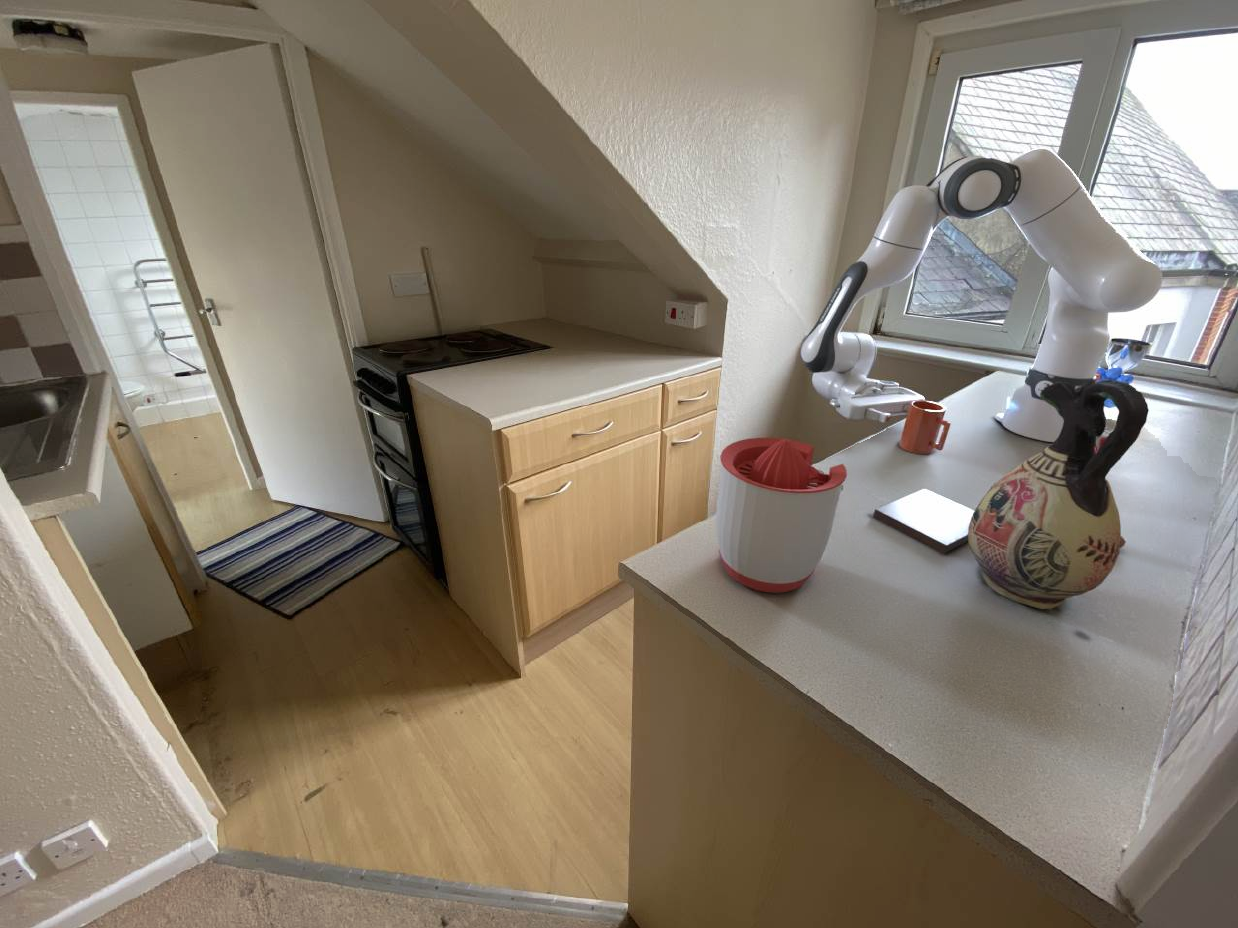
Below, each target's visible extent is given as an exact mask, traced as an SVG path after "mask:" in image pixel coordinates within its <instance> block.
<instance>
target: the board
mask: <svg viewBox="0 0 1238 928" xmlns="http://www.w3.org/2000/svg"><path fill="white" fill-rule="evenodd" d="M974 511H975V510H974V509H972V508H969V507H967V506H964V505H963V504H960V503H958V502H955V501H954V500H951V499H949V498H946V497H944V496H942V495H940V494H937V493H935V492H934V491H931V490H928V489H927V488H922V489H920V490H918V491H915V492H913V493H910V494H908V495H905V496H904V497H901V498H899V499H896V500H894V501H891V502H889V503H887V504H884V505H882V506H880V507H877V508H875V509H874V512H873V516H872V517H873V518H875V519H877V520H879V521H880V522H883V523H884V524H886V525H887V526H890V527H892V528H894V529H896V530H898V531H899V532H901V533H903V534H906V535H907V536H909V537H911V538H913V539H915V540H917V541H918V542H921V543H923V544H924V545H926V546H928V547H930V548H932V549H934V550H936V551H938V552H940V553H942V554H947V553H948V552H950V551H952V550H954V549H956V548H958V547H960V546H962V545H964V544H965V543H967V542H968V529H969V524H970V520H971V517H972V515H973V513H974Z"/></svg>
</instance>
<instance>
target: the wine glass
mask: <svg viewBox="0 0 1238 928" xmlns="http://www.w3.org/2000/svg"><path fill="white" fill-rule="evenodd" d="M1150 347H1151V343H1150V342H1148V341H1143V340H1139V339H1131V338H1120V337H1119V338H1118V337H1117V338H1115V337H1114V338H1110V341H1109V345H1108V347H1107V350H1106V352H1105V362H1106V364H1107V366H1108V368H1111V367H1115V366H1117V367H1121V368H1122V370H1123V372H1122V374H1125V372H1127V371H1129V370H1131V369H1133V368H1135V367H1137V366H1138V365H1139V364H1140V363H1141V361H1143V359H1144V358H1145V356H1146V355H1147V353H1148V351H1149V349H1150Z"/></svg>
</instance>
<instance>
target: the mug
mask: <svg viewBox="0 0 1238 928" xmlns="http://www.w3.org/2000/svg"><path fill="white" fill-rule="evenodd" d="M946 411H947V407H946V406H944V405H943V404H940V403H937V402H935V401H929V400H925V401H912V402H911V403H910V406H909V410H908V414H906V418H905V421H904V425H903V428H902V432H901V436H900V439H899V443H898V445H899V447H900V448H901V449H902V450H904V451H907V452H910V453H913V454H919V455H928V454H932V453H933V452H934V449H935V450H937V451H939V452H941V451H943V449H944V447H945V443H946V441H947V437H948V435H949V432H950V431H949V430H950V428H951V422H950V421H948V420H945V419H944V418H945V414H946ZM942 426H943V429H942V431H941V434H940V430H941V427H942ZM939 434H940V437H939ZM938 437H939V441H938V440H937V439H938ZM937 441H938V443H937Z"/></svg>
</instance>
